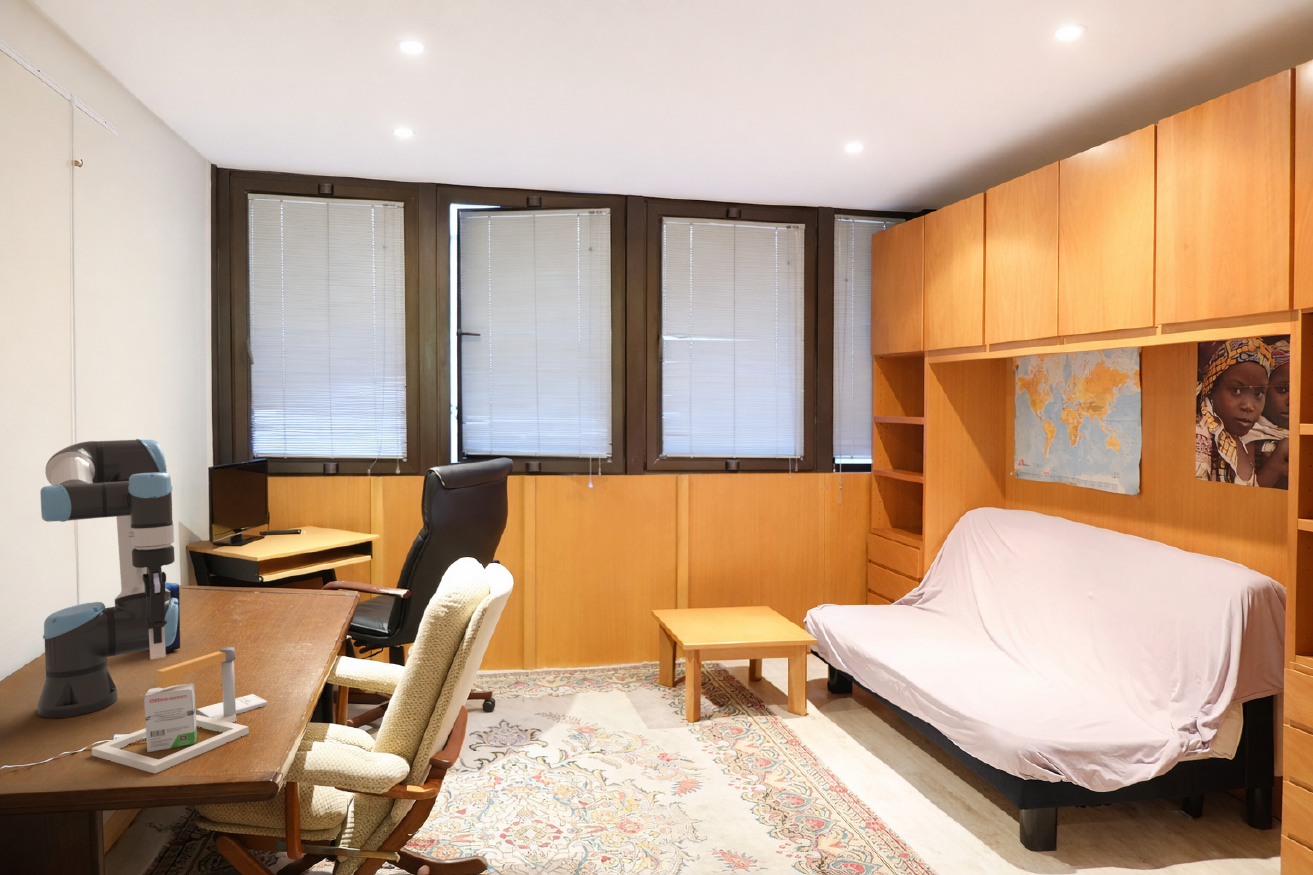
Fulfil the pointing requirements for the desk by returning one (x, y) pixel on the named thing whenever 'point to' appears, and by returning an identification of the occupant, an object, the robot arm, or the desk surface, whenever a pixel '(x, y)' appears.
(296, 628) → the desk surface
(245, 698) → the external hard drive
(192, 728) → the ink box
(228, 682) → the socket frame
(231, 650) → the orange bar
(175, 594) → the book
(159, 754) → the desk surface
